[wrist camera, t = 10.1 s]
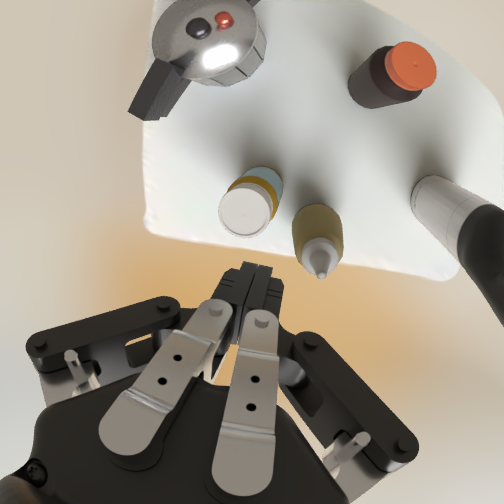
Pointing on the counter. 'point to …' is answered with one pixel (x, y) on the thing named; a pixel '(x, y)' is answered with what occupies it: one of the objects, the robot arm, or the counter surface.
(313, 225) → the squeeze bottle
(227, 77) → the pot
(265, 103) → the counter surface
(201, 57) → the lid
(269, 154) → the counter surface
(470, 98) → the counter surface
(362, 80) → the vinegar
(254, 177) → the bottle
